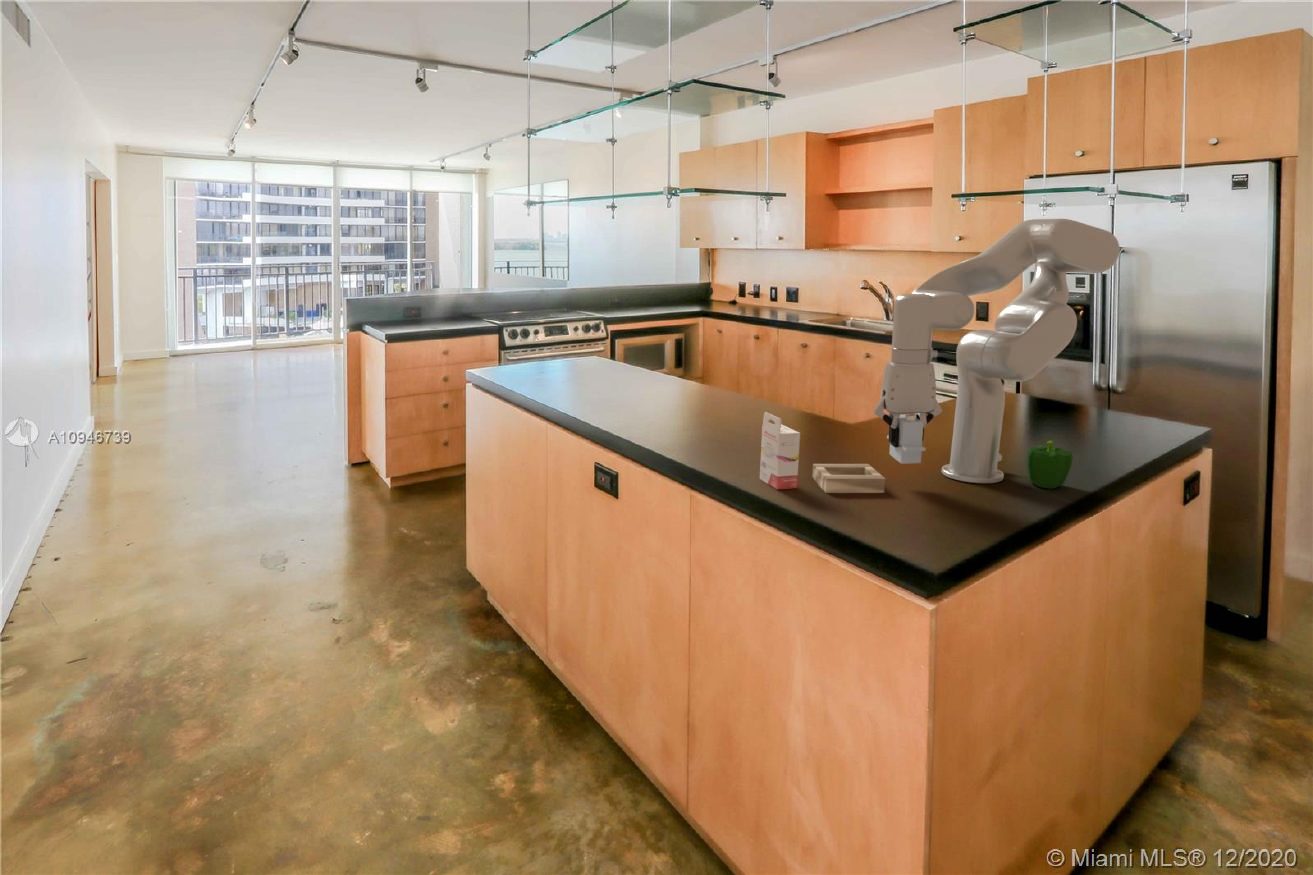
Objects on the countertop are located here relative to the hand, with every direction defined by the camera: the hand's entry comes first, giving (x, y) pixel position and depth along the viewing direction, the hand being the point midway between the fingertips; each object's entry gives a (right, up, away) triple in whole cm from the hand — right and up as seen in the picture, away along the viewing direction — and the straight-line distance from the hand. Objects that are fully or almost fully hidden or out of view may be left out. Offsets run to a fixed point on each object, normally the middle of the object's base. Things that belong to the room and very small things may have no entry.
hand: (905, 444), depth 161 cm
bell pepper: (+31, -9, +4) cm, 32 cm away
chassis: (-11, -8, +2) cm, 14 cm away
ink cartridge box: (-26, -8, +3) cm, 27 cm away
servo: (0, -3, +1) cm, 3 cm away
